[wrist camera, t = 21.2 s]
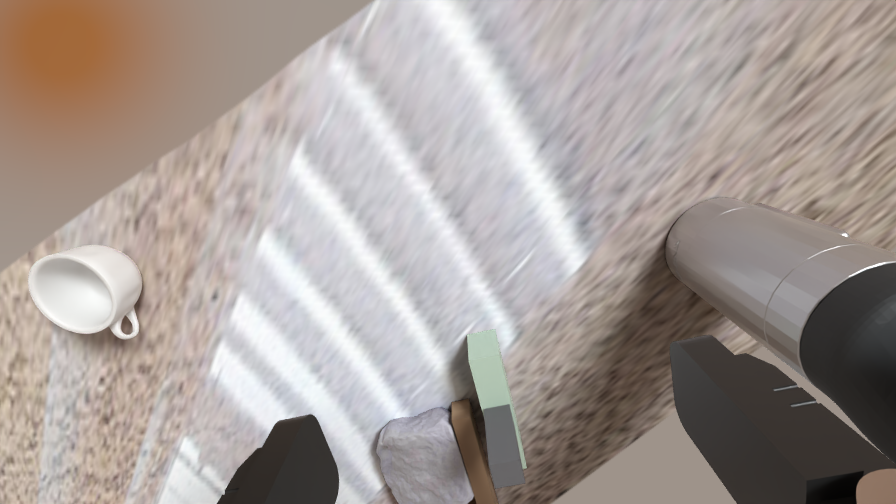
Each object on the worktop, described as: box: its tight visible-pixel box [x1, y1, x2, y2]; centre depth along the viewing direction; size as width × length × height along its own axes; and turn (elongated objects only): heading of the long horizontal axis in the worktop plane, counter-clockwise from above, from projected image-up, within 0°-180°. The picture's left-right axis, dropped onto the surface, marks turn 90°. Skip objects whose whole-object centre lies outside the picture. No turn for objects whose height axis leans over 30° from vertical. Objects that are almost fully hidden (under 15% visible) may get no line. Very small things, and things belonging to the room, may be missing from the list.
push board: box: [467, 329, 527, 489], centre depth 42 cm, size 14×3×12 cm, turn 14°
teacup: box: [28, 245, 142, 340], centre depth 41 cm, size 10×8×5 cm
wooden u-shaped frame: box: [452, 399, 499, 504], centre depth 50 cm, size 22×16×3 cm
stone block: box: [376, 407, 474, 504], centre depth 49 cm, size 12×5×10 cm
